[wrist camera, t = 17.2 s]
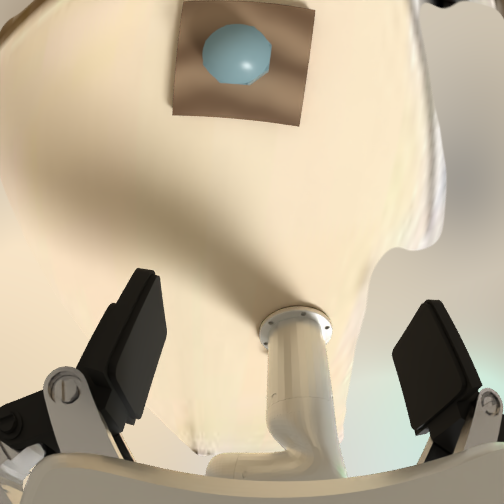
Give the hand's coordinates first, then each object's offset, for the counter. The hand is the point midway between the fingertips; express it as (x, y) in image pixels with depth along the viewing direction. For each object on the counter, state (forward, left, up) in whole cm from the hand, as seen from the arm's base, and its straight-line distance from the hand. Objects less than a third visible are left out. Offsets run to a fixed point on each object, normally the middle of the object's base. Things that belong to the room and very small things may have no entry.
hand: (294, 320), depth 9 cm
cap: (+10, +5, -25) cm, 27 cm away
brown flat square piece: (+10, +5, -26) cm, 29 cm away
